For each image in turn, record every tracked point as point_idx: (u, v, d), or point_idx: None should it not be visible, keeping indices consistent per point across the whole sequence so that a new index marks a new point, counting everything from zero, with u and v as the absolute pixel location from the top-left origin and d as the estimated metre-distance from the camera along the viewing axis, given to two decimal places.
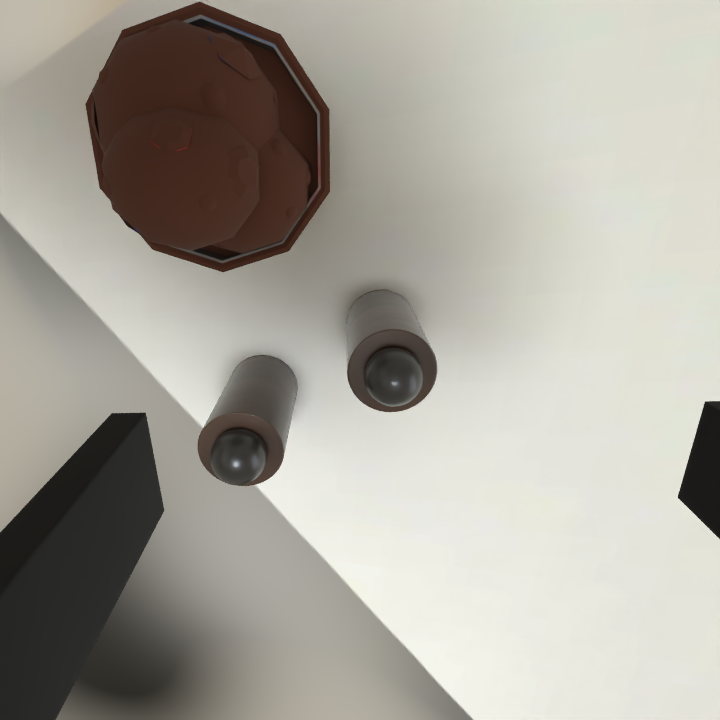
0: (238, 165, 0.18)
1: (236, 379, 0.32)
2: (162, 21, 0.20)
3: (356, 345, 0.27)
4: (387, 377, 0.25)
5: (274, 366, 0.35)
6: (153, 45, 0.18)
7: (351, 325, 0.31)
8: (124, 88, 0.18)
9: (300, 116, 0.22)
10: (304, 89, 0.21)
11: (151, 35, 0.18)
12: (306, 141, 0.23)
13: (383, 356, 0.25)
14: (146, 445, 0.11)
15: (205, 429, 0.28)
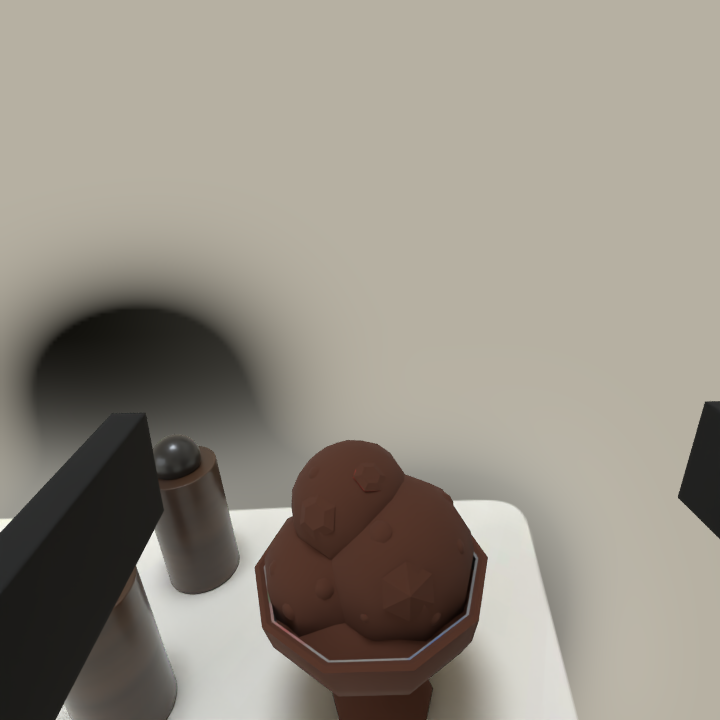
0: (321, 509, 0.21)
1: (226, 528, 0.34)
2: (478, 584, 0.21)
3: (137, 578, 0.24)
4: None
5: (207, 573, 0.34)
6: (441, 524, 0.21)
7: (159, 634, 0.27)
8: (424, 489, 0.22)
9: (341, 652, 0.20)
10: (356, 662, 0.19)
11: (453, 534, 0.21)
12: (319, 645, 0.20)
13: None
14: (146, 445, 0.11)
15: (213, 458, 0.33)
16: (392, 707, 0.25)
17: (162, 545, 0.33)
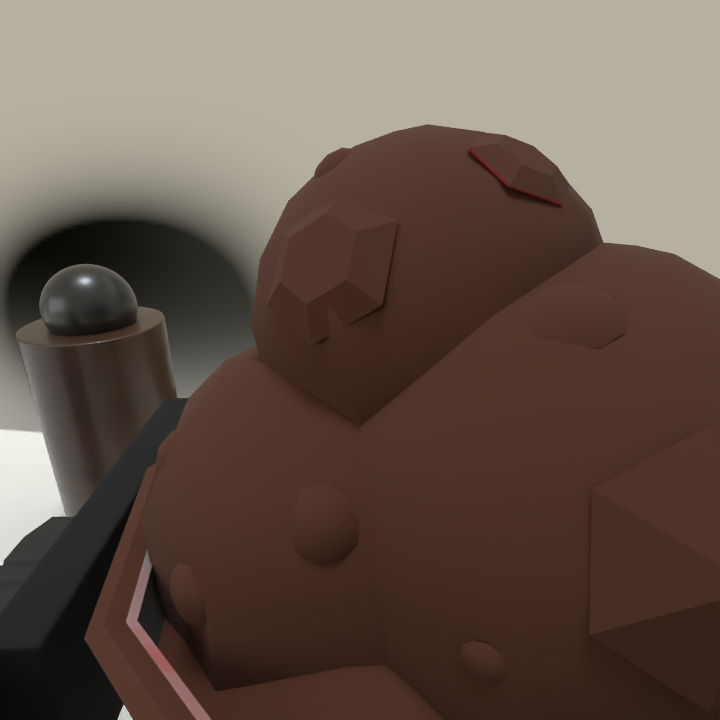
0: (346, 233, 0.06)
1: None
2: None
3: None
4: None
5: None
6: None
7: None
8: None
9: None
10: None
11: None
12: None
13: None
14: None
15: (159, 319, 0.19)
16: None
17: (51, 461, 0.19)
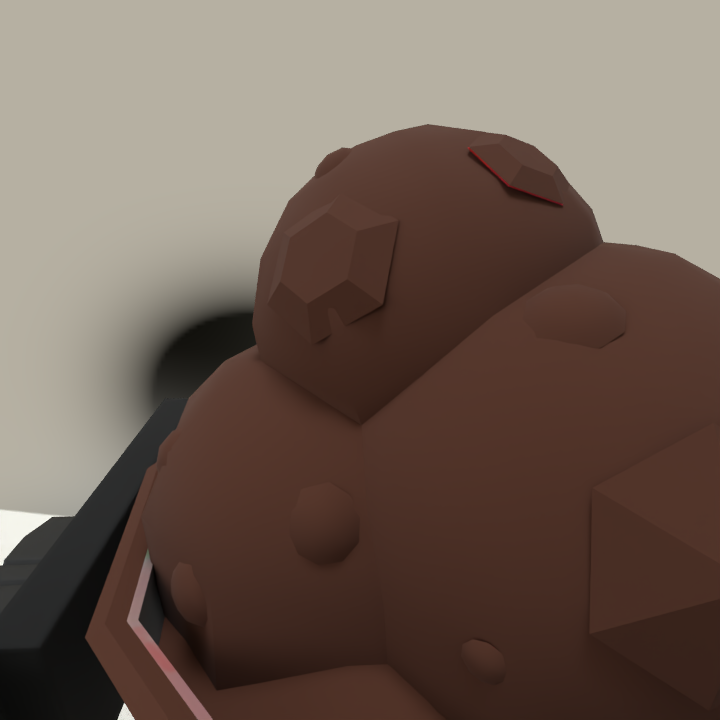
0: (347, 233, 0.06)
1: None
2: None
3: None
4: None
5: None
6: None
7: None
8: None
9: None
10: None
11: None
12: None
13: None
14: None
15: None
16: None
17: None
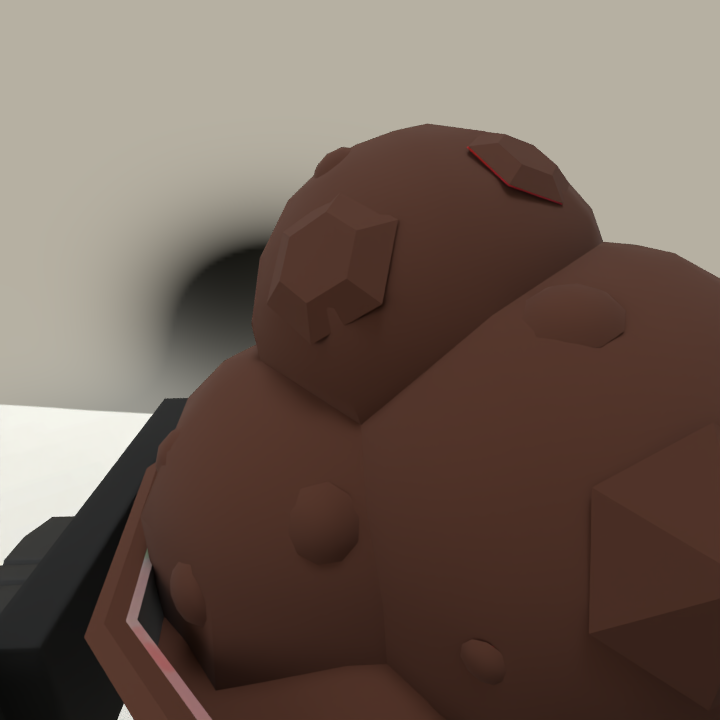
0: (346, 232, 0.06)
1: None
2: None
3: None
4: None
5: None
6: None
7: None
8: None
9: None
10: None
11: None
12: None
13: None
14: None
15: None
16: None
17: None
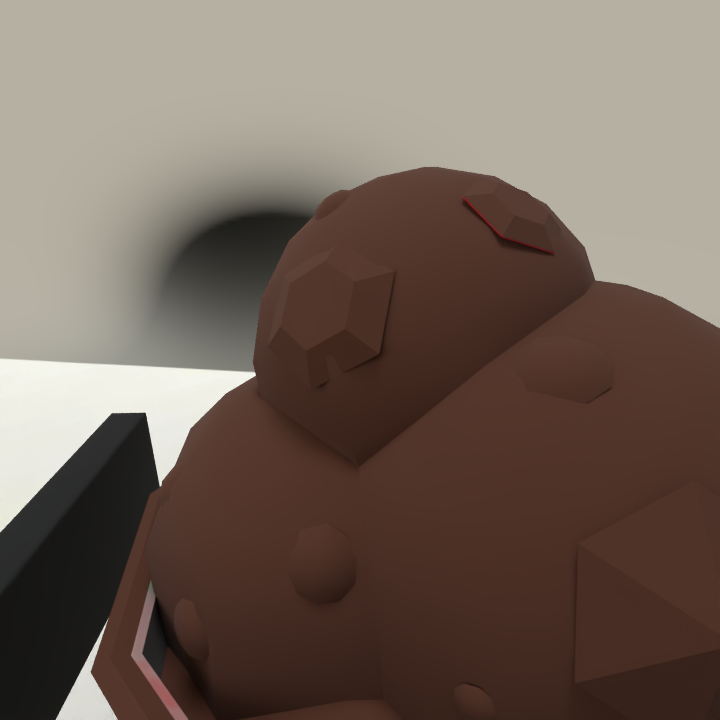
0: (345, 281, 0.06)
1: None
2: None
3: None
4: None
5: None
6: None
7: None
8: None
9: None
10: None
11: None
12: None
13: None
14: (146, 445, 0.11)
15: None
16: None
17: None
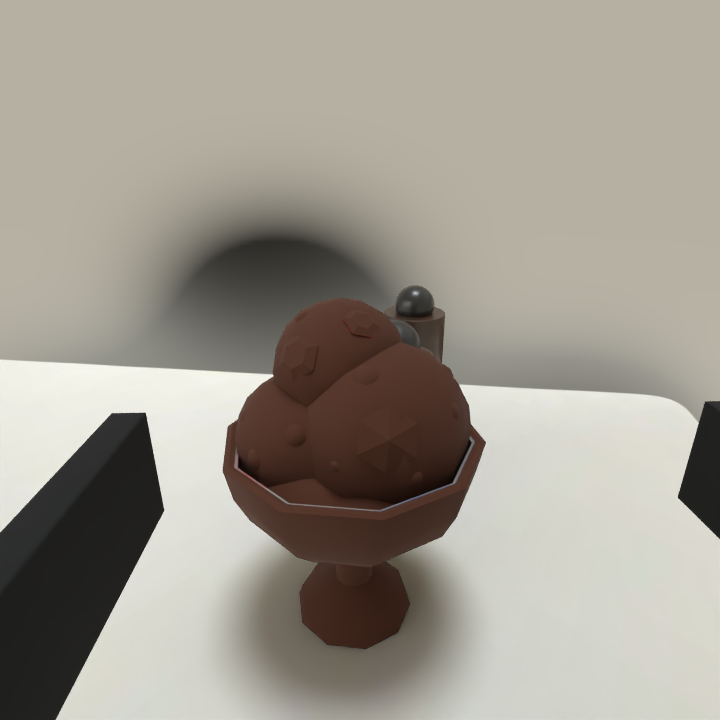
0: (303, 347, 0.18)
1: None
2: (471, 460, 0.19)
3: None
4: (407, 324, 0.30)
5: None
6: (435, 380, 0.18)
7: None
8: (422, 351, 0.20)
9: (305, 504, 0.17)
10: (319, 507, 0.16)
11: (448, 395, 0.18)
12: (282, 496, 0.18)
13: (418, 340, 0.30)
14: (146, 445, 0.11)
15: (441, 310, 0.40)
16: (362, 610, 0.22)
17: None
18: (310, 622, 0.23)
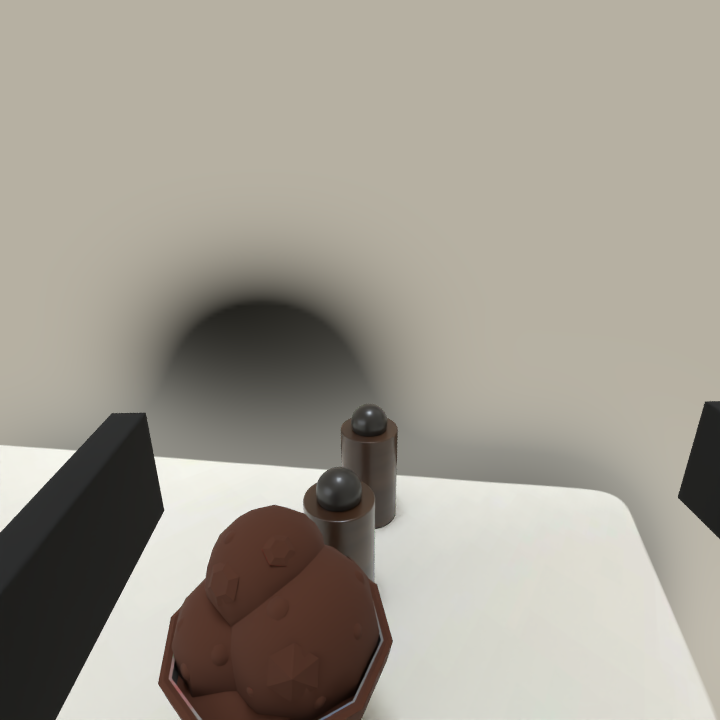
0: (227, 577, 0.21)
1: (395, 481, 0.44)
2: (374, 669, 0.22)
3: None
4: (349, 474, 0.33)
5: (379, 513, 0.44)
6: (340, 607, 0.21)
7: None
8: (334, 567, 0.23)
9: None
10: None
11: (351, 619, 0.21)
12: (208, 709, 0.21)
13: (359, 488, 0.33)
14: (146, 445, 0.11)
15: (395, 425, 0.43)
16: None
17: None
18: None
